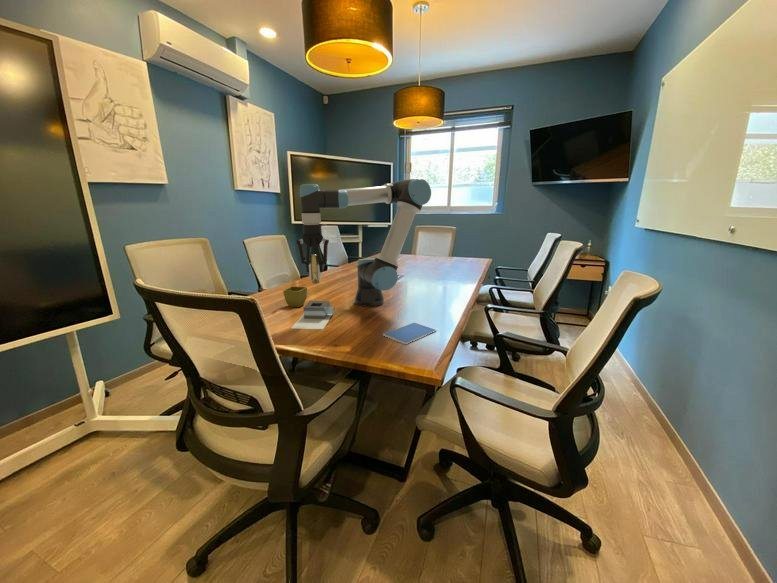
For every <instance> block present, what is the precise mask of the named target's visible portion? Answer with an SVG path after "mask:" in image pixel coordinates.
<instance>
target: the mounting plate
mask: <svg viewBox="0 0 777 583" xmlns="http://www.w3.org/2000/svg"><path fill="white" fill-rule="evenodd" d="M332 315H333V314H328V315H327V316H326V318H325V319H304V313H303V314H302V315H301V316H300V318H299V319H298V320H297V321H296V322H295V323H294V324H293V325H292V326H291V329H295V330H296V329H300V330H302V329H303V330H305V329H306V330H307V329H308V330H324V329H325V327H326V326H327V324H328V322H329V320H330V319H331V317H332Z"/></svg>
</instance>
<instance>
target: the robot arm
mask: <svg viewBox="0 0 777 583" xmlns="http://www.w3.org/2000/svg"><path fill="white" fill-rule="evenodd" d="M431 196H432V189H431V186H430V184H429V183H428V182H427V180H425V179H424V178H421V177H420V178H418V177H415V178H410V179H401V180H399V181H394V182H390V183H388V182H387V183H384V184H383V185H381V186H379V185H378V186H368V187H355V188H353V187H352V188H344V189H320V186H319V185H318V184H317V183H316V184H315V183H314V184H313V183H311V184H310V183H305V184H304V183H303V184H301V185H300V186H299V199H300V200H299V201H300V209H301V223H302V226H301V227H302V237H301V238H300V239H298V240H296V244H297V246H298V249H299V255H300V262H301V264H304V265H305V267H306V273H309V275H308V276H309V281H312V272H311V258H310V255H312V247H313V248H314V249H315V251H316V255H317V257H318V265H317V268H318V280H319V281H321V280H322V273H323V272H324V264H326V263H327V262H328V245H329V242H330V240H329V239H326V238H324V236H323V234H322V233H323V232H322V225H321V223H322V218H321V217H322V216H321V209H322V210H323V209H326V210H327V209H330V210H331V209H332V210H333V209H339V210H341V209H346V208H347V207H350V206H358V205H361V206H362V205H368V204H369V205H371V204H379V203H385V204H387V205H392V204H394V205H395V204H396V205H397V211H396V212H395V216H394V218H393V220H392V223H391V226H390V228H389V231H388V233H387V236H386V237H385V241H384V244H383V246H382V249H381V251H380V254H379V255H377V256H375V257H374V258H372V257H371V258H370V257H369V258H361V259H358V260H357V264H356V267H357V291H356V293H355V297H354V304H356V305H357V306H361V307H379V306H381V305H383V304H384V303H385V300H384V295H383V292H382V291H389V290H391V289H393V288H394V287H395V286H396V285H397V283H398V280H399V279H398V278H399V274H398V272H397V271H398V268H399V265H398V259H399V257H400V255H401V252H402V249H403V247H404V244H405V242H406V239H407V237H408V235H409V232H410V229H411V227H412V224H413V222H414V218H415V217H416V215H417V214H419V213H420V212H421V211H422V208H423V206H425V205H426V204H428V203H429V202H430V200H431ZM321 243H322V244H323V251H322V252H323V254H322V252H321V245H320V244H321ZM304 244H305V245H306V253H305V248H304ZM322 255H323V256H322Z"/></svg>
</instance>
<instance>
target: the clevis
mask: <svg viewBox="0 0 777 583" xmlns="http://www.w3.org/2000/svg"><path fill="white" fill-rule="evenodd" d="M330 305H331V303H330V300H309V301H308V302H307V303H306V304H304V306H303V314H304V319H325V318H326V316H327V315H328V314H332V315H333V314H334V313H335V311H336V310H335V308H336V307H335V306H330Z"/></svg>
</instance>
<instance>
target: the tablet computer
mask: <svg viewBox="0 0 777 583" xmlns="http://www.w3.org/2000/svg"><path fill="white" fill-rule="evenodd" d="M433 331H437V329H435V328H431V327H428V326H427V325H422V324H420V323H417V322H412V323H408V324H407V325H403V326H401V327H399V328H395V329H394V330H391V331H387V332H385V333H383V334H382V337H384V336H385V337H384V338H386V337H388V338H387V339H389V338H390V339H389V340H391V339H393V340H392V341H394V340H395V341H394V342H396V341H398V342H397V343H399V342H401V343H400V344H402V343H403V344H402V345H405V344H406V345H408V343H409V344H411V343H413V342H415V340H416V341H418V340H420V339H422V338H421V337H423V336H425V337H427V336H428V335H427V334H429V333H431V332H433ZM426 335H427V336H426ZM419 338H420V339H419ZM423 338H424V337H423ZM417 339H418V340H417ZM412 341H413V342H412ZM410 342H411V343H410Z"/></svg>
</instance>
